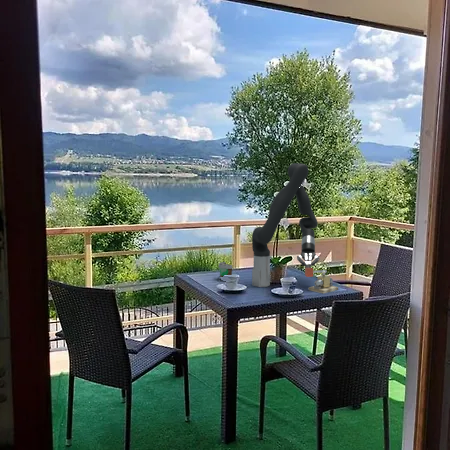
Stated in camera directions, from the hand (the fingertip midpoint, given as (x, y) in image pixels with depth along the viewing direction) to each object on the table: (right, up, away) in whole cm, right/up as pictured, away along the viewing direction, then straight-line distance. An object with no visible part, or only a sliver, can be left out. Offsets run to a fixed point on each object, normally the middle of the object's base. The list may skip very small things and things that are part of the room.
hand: (308, 271), depth 260 cm
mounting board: (+9, -10, +1) cm, 13 cm away
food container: (-46, -8, +25) cm, 53 cm away
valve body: (+9, -9, +1) cm, 12 cm away
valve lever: (+4, -3, -1) cm, 5 cm away
